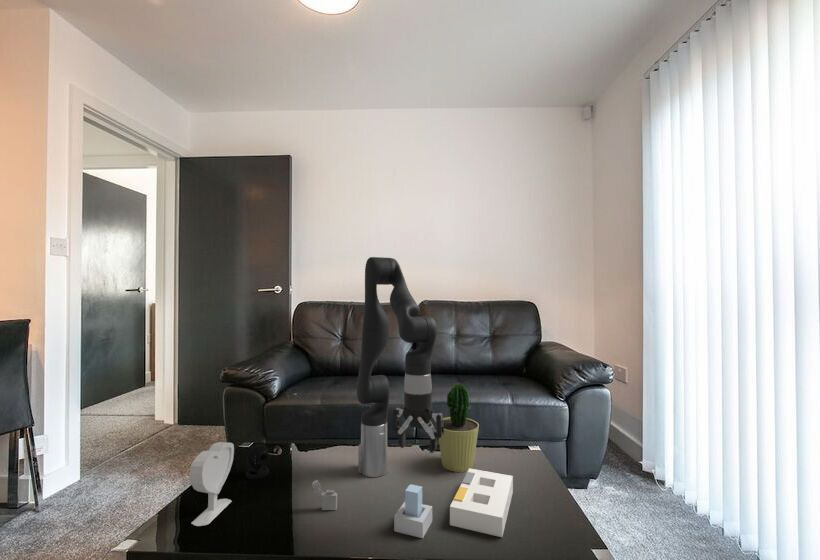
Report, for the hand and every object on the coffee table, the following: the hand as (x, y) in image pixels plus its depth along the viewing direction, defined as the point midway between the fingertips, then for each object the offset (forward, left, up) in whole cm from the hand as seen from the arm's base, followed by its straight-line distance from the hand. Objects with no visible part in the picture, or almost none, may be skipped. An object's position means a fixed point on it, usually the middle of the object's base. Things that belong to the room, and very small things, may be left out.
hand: (417, 449), depth 105 cm
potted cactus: (+1, +39, -20) cm, 44 cm away
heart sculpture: (-57, -16, -21) cm, 62 cm away
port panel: (+15, +15, -20) cm, 30 cm away
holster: (-1, -1, -20) cm, 20 cm away
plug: (-1, -1, -20) cm, 20 cm away
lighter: (-28, -3, -21) cm, 35 cm away
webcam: (-61, +6, -21) cm, 64 cm away
